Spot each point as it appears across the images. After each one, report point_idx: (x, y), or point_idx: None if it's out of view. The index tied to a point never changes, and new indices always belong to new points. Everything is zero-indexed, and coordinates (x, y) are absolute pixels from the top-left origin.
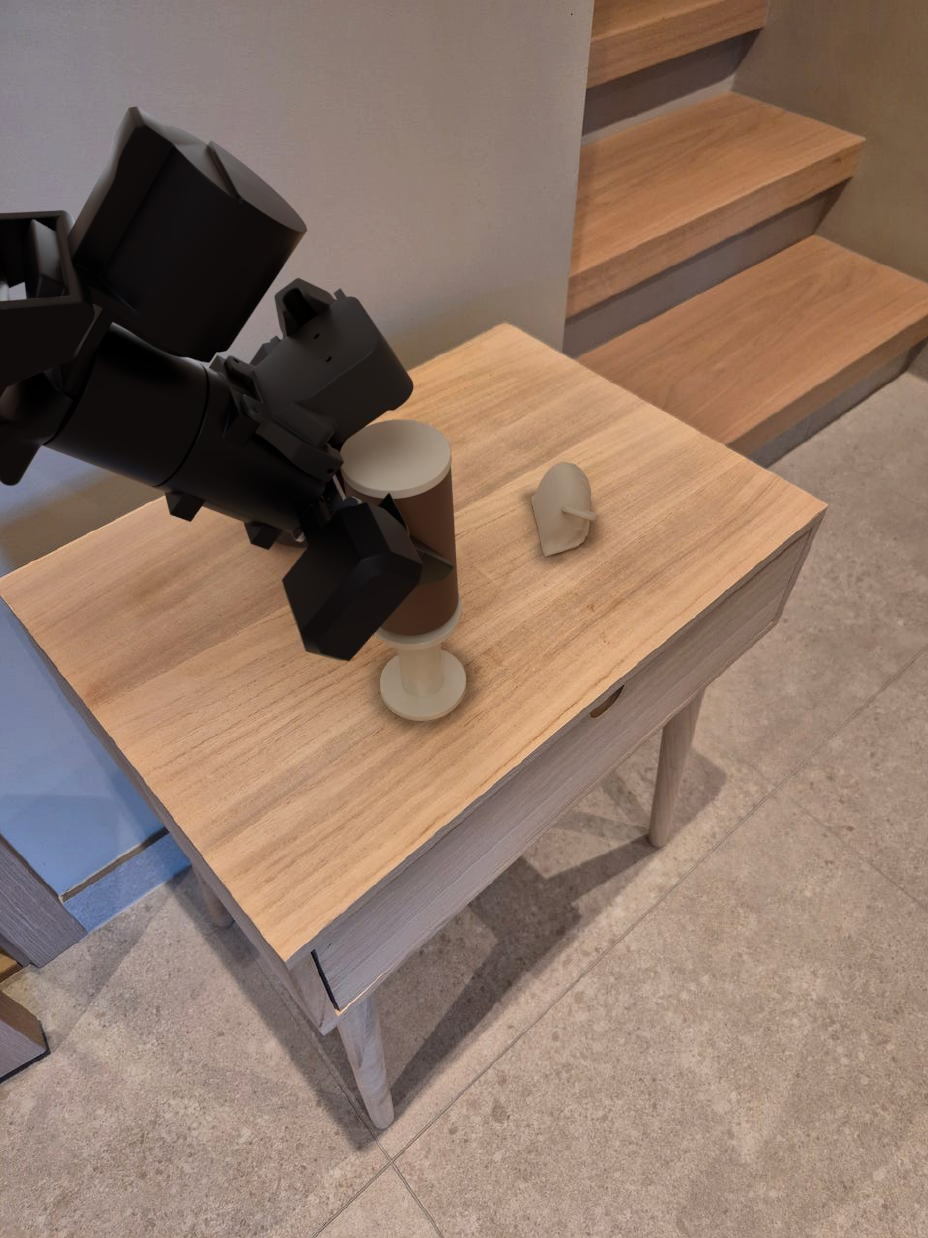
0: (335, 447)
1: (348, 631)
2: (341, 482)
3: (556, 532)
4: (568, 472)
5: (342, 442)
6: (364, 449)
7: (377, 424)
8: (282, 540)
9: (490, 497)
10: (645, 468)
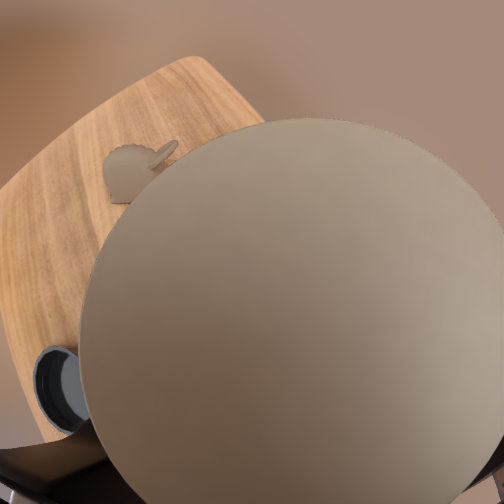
0: (134, 496)
1: None
2: None
3: None
4: (120, 153)
5: (123, 483)
6: (256, 487)
7: (93, 392)
8: None
9: (99, 235)
10: (120, 124)
